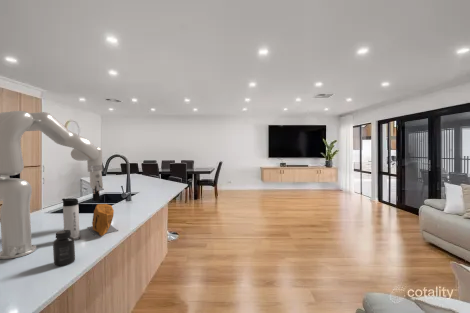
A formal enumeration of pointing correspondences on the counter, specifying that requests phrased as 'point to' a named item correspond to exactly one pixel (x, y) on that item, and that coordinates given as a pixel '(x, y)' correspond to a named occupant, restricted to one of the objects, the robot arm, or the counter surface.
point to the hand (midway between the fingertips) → (96, 200)
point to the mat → (111, 229)
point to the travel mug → (71, 216)
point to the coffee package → (102, 218)
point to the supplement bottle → (63, 248)
